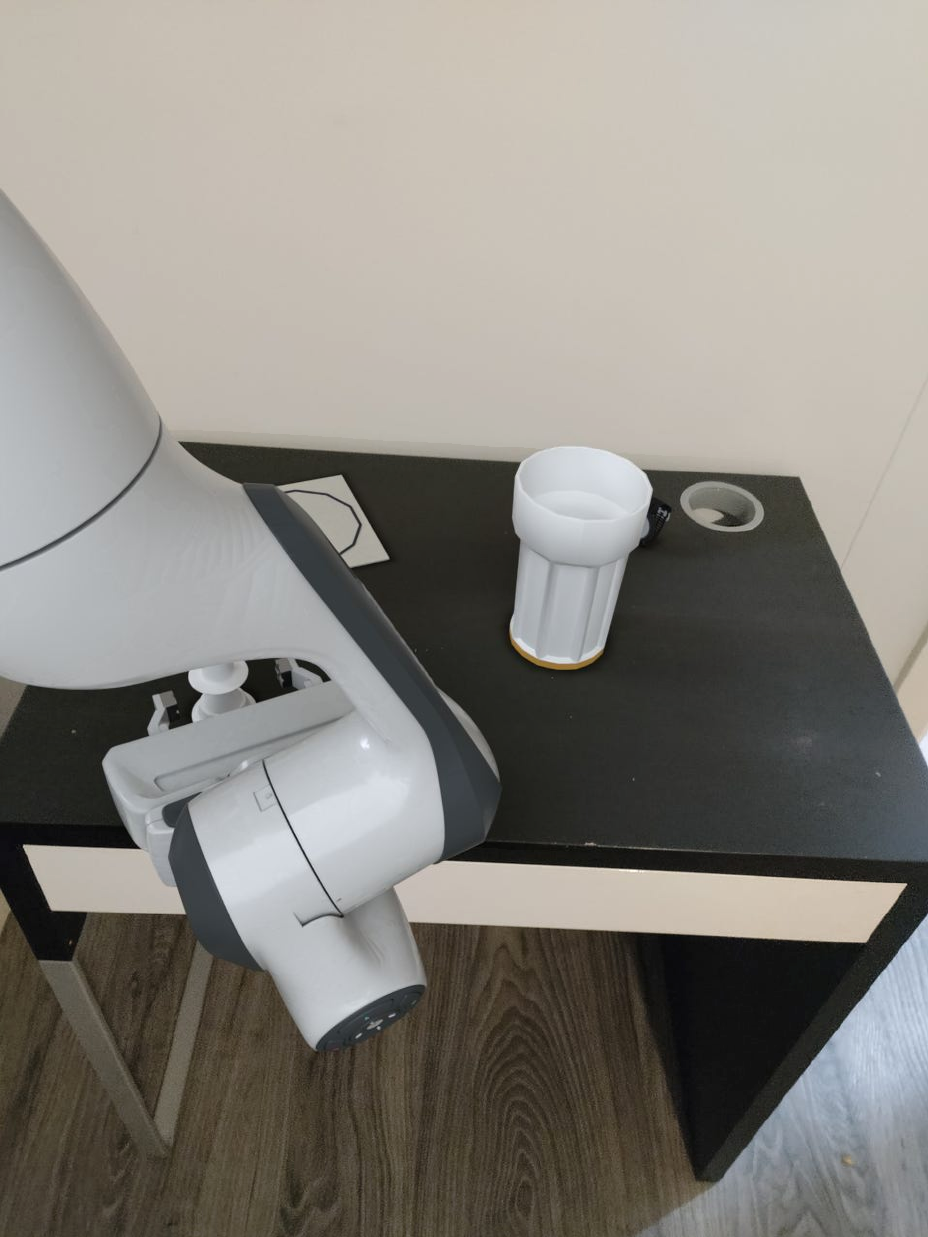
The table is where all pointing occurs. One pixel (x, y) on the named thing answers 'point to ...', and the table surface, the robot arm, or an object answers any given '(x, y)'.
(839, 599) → the table surface
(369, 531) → the sketch sheet
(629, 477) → the cup
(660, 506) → the smartwatch
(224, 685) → the candle
